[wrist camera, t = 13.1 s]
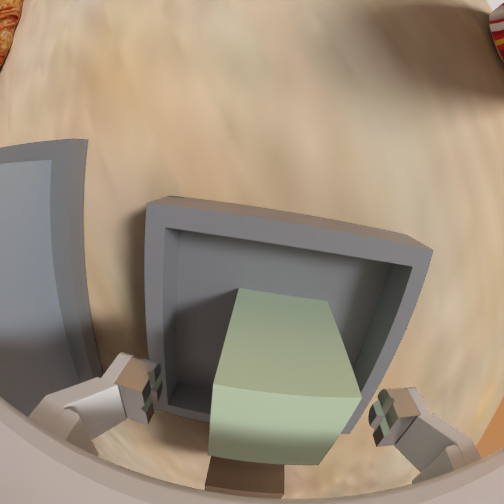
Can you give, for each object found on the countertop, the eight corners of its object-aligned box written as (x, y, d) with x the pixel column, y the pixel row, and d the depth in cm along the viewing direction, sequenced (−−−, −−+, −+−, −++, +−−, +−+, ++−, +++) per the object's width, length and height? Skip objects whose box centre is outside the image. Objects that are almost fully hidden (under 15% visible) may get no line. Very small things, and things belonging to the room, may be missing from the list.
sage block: (306, 367, 13) (318, 465, 7) (229, 357, 13) (207, 455, 7) (327, 300, 12) (362, 397, 6) (238, 288, 12) (212, 384, 6)
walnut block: (272, 445, 16) (270, 512, 11) (218, 438, 16) (205, 504, 11) (283, 414, 15) (284, 493, 9) (221, 407, 15) (204, 485, 10)
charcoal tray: (342, 404, 15) (349, 433, 12) (167, 381, 15) (155, 409, 12) (406, 235, 11) (433, 250, 9) (170, 195, 12) (146, 202, 9)
